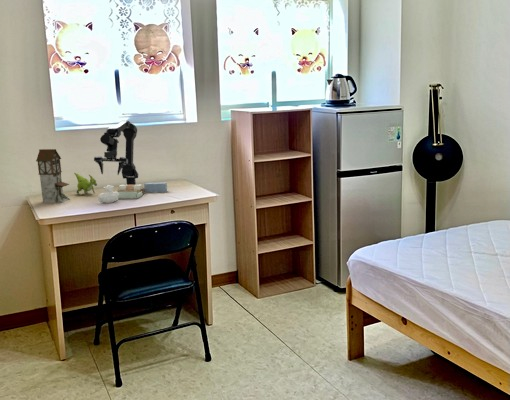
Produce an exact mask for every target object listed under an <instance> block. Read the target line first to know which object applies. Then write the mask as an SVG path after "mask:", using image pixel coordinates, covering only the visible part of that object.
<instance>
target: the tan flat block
mask: <svg viewBox="0 0 510 400" xmlns="http://www.w3.org/2000/svg"><path fill="white" fill-rule="evenodd" d="M141 191H142V194H145V188H144V187H143V189H141V190H119V189H118V190H116V192H137V194H138V193H140V192H141Z"/></svg>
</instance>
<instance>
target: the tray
mask: <svg viewBox="0 0 510 400" xmlns="http://www.w3.org/2000/svg"><path fill="white" fill-rule="evenodd" d="M118 193H119V198H118V200H124V199H125V200H130V199H131V200H135V199H136V200H137V199H139V198H141V197H143V194H142V191H141V192H140V193H138V194H137V192H118Z"/></svg>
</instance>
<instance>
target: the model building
mask: <svg viewBox="0 0 510 400" xmlns="http://www.w3.org/2000/svg"><path fill="white" fill-rule="evenodd" d="M61 159H62V158H61V156H60V154H59V153H58V151H57V149H56V148H54V149H53V148H47V149H45V148H43V149H41V148H40V149H38V154H37V157H36V160H35V162H37V169H38V175H39V178H40V179H39V181H40V189H41V197H42V203H48V204H49V203H50V204H51V203H52V204H55V203H64V202H66V201H70V199H71V198H70V197H68V196H67V195H66V194H65V193H64V190H63V187H68V186H69V185H70V183H67V182H64V181H62V172H63V171H62V166H61V165H62V164H61Z"/></svg>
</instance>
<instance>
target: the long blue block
mask: <svg viewBox="0 0 510 400" xmlns="http://www.w3.org/2000/svg"><path fill="white" fill-rule="evenodd" d="M167 184H168V183H167V182H145V183H144V185H143V186H144V187H143V188H145V193H146V194H147V193H151V194H152V193H167V192H168V185H167ZM145 193H144V194H145Z"/></svg>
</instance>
